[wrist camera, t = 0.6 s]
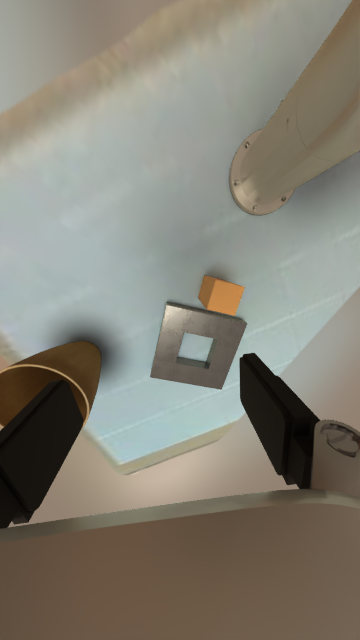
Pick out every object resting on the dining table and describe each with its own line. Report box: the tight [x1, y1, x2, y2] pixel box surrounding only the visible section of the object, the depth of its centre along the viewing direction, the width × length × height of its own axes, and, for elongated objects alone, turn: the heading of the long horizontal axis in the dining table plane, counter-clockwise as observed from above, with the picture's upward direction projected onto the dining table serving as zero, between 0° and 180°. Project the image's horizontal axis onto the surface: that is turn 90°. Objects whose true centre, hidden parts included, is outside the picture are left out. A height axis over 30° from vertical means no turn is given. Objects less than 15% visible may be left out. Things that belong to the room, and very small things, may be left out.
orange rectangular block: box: [198, 275, 245, 316], centre depth 33 cm, size 5×5×10 cm
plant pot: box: [0, 341, 101, 428], centre depth 34 cm, size 15×15×16 cm
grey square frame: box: [150, 302, 247, 390], centre depth 41 cm, size 18×18×3 cm
